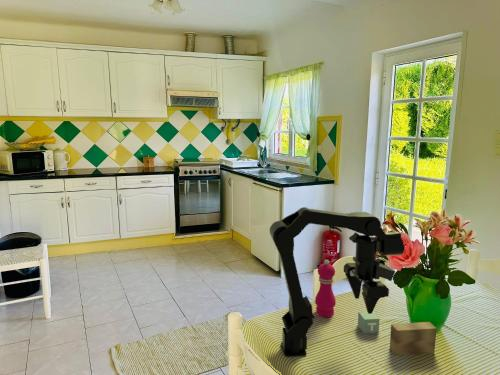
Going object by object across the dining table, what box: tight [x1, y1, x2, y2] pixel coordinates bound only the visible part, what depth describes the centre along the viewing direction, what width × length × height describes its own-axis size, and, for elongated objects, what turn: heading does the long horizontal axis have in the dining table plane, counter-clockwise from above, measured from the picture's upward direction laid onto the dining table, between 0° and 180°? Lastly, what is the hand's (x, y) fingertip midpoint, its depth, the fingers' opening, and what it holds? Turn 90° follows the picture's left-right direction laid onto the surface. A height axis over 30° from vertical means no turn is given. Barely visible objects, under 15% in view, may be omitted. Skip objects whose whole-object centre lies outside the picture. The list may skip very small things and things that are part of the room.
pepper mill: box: [314, 259, 336, 318], centre depth 124 cm, size 7×7×20 cm
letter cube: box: [357, 310, 380, 335], centre depth 115 cm, size 5×5×5 cm
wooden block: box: [389, 321, 437, 357], centre depth 104 cm, size 12×4×8 cm, turn 95°
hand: (363, 305), depth 105 cm, fingers open, 9 cm apart
